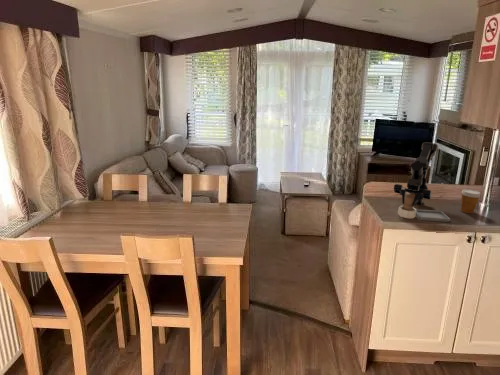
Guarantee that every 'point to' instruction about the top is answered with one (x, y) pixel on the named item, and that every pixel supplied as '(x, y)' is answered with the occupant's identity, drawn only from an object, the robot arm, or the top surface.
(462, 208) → the disposable coffee cup
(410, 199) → the dowel peg
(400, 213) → the white nut
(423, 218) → the tray
